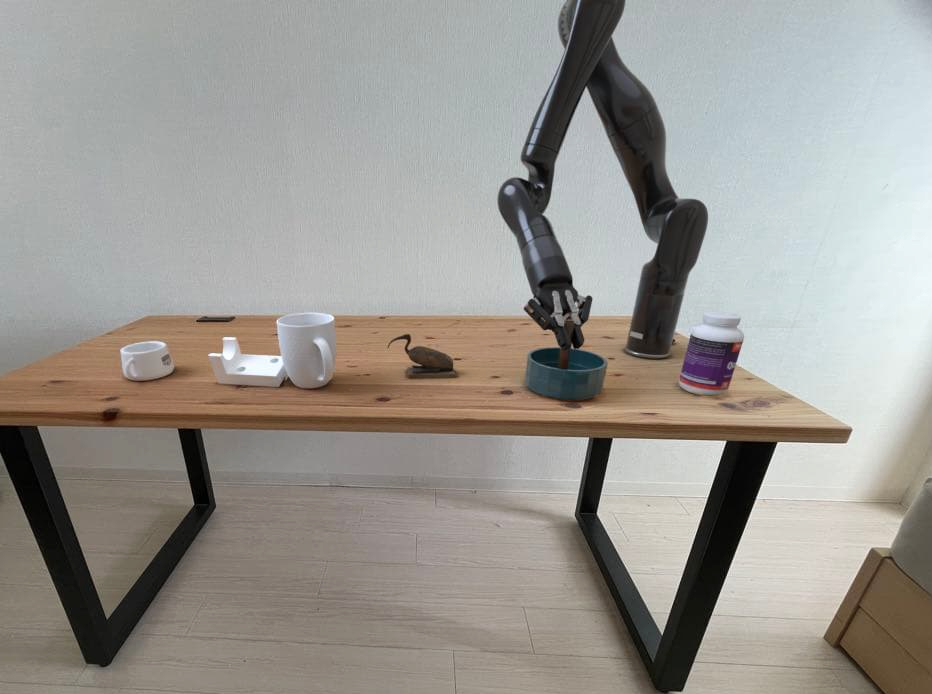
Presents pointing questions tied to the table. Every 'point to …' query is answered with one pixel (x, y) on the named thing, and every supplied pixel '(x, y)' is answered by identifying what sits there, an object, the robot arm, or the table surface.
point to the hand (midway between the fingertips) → (573, 346)
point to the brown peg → (565, 354)
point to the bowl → (565, 374)
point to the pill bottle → (712, 354)
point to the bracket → (246, 367)
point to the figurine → (427, 361)
